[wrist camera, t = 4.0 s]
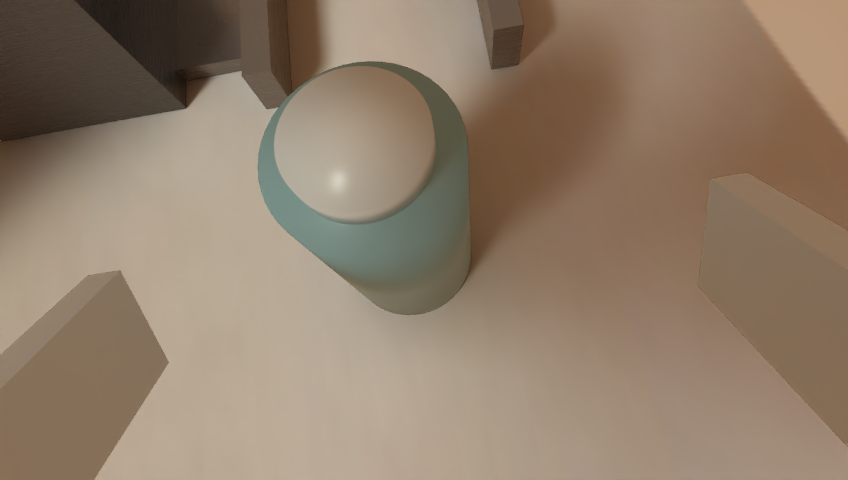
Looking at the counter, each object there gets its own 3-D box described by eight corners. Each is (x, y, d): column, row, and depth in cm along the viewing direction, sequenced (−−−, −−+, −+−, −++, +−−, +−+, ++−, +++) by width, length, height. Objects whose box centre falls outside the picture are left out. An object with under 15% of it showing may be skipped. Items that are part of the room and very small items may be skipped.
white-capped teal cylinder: (335, 295, 20) (206, 211, 10) (373, 186, 21) (290, 21, 11) (451, 330, 19) (428, 274, 9) (484, 214, 20) (493, 61, 10)
